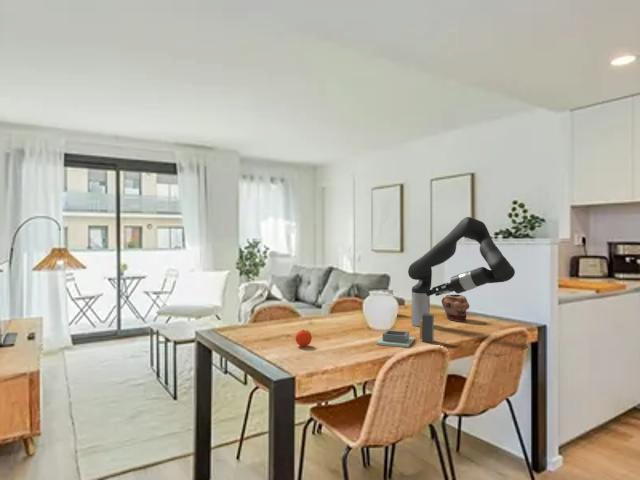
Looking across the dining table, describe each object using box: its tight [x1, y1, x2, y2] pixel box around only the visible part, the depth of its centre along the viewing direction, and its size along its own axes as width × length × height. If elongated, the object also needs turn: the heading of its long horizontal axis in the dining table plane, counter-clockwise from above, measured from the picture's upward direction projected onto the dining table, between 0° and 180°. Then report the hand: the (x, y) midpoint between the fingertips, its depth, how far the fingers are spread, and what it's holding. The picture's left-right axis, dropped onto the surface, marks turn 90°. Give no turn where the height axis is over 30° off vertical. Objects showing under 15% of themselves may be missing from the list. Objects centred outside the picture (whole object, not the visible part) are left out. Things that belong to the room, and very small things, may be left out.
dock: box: [375, 329, 416, 348], centre depth 204 cm, size 16×14×4 cm
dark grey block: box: [419, 313, 435, 344], centre depth 206 cm, size 4×6×12 cm
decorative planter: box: [441, 294, 470, 322], centre depth 257 cm, size 20×12×14 cm, turn 32°
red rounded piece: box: [295, 329, 312, 347], centre depth 196 cm, size 8×7×7 cm
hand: (431, 293), depth 201 cm, fingers open, 8 cm apart
